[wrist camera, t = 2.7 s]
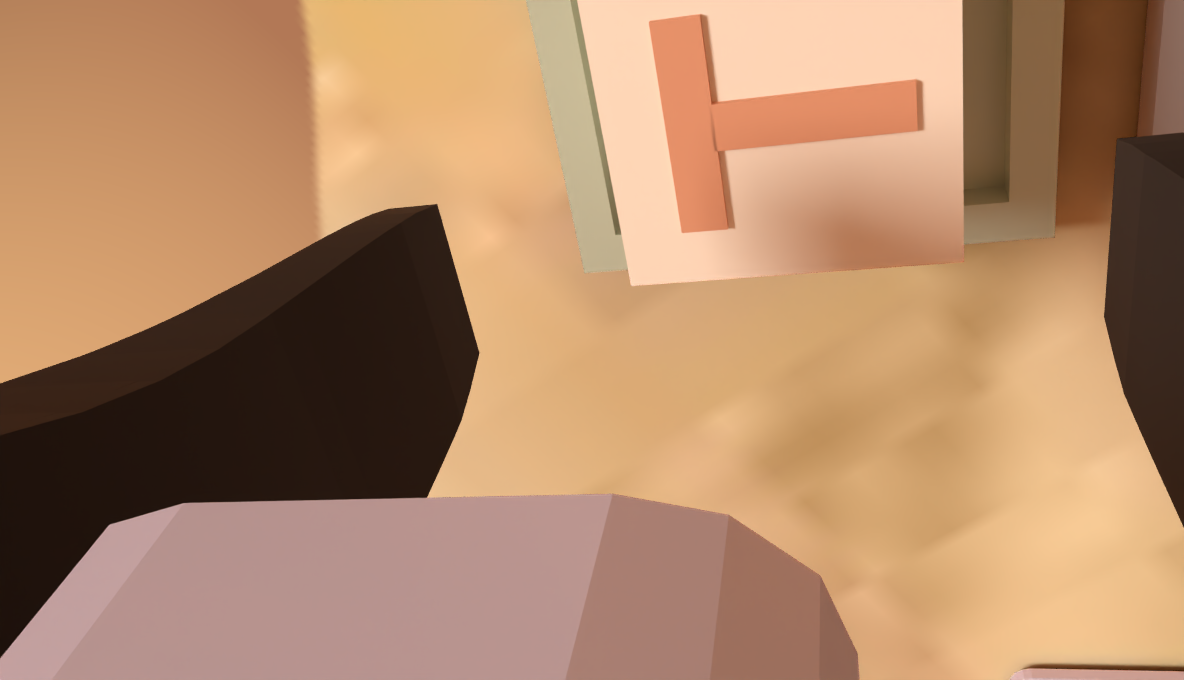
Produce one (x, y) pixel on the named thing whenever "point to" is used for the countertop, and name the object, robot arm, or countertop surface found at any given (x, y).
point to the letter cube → (780, 133)
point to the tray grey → (1162, 70)
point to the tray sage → (990, 123)
